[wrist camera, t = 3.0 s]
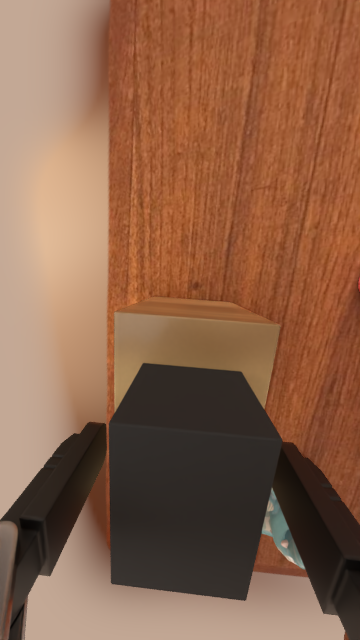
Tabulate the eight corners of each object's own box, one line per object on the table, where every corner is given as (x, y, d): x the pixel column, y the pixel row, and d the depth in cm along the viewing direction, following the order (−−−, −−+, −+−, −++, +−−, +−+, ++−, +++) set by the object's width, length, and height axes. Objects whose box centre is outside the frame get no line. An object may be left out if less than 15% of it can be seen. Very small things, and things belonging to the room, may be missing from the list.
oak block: (153, 296, 18) (113, 311, 9) (231, 302, 18) (281, 324, 8) (149, 398, 21) (114, 501, 11) (217, 405, 21) (244, 516, 11)
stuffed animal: (270, 476, 16) (403, 573, 14) (253, 422, 23) (342, 484, 21) (203, 546, 18) (313, 637, 16) (207, 477, 25) (284, 537, 23)
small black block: (142, 362, 9) (107, 423, 5) (241, 371, 9) (284, 440, 5) (139, 472, 10) (110, 585, 7) (224, 481, 10) (246, 602, 6)
